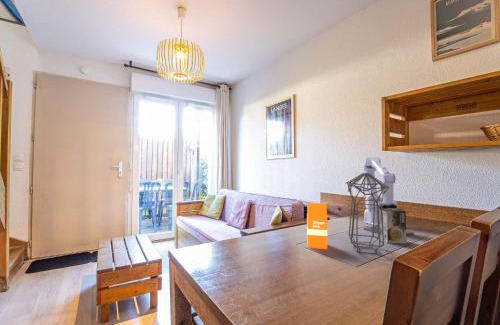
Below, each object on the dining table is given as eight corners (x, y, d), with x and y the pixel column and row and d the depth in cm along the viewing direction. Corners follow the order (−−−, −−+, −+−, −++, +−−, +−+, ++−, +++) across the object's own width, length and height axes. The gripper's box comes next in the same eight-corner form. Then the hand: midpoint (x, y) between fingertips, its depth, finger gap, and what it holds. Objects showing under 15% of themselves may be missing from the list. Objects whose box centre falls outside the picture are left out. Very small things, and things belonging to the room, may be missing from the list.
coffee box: (399, 239, 122) (399, 208, 122) (406, 244, 115) (406, 210, 115) (381, 239, 123) (380, 208, 123) (387, 243, 116) (386, 210, 116)
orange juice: (327, 249, 108) (327, 205, 108) (307, 247, 110) (307, 204, 110) (325, 243, 116) (325, 202, 116) (306, 242, 117) (306, 201, 118)
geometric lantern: (379, 246, 112) (380, 172, 112) (389, 259, 97) (391, 174, 96) (343, 242, 116) (345, 171, 116) (348, 255, 101) (349, 173, 101)
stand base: (363, 229, 141) (363, 221, 141) (383, 226, 149) (383, 218, 149) (393, 237, 125) (393, 228, 125) (413, 233, 133) (413, 225, 133)
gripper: (386, 195, 131) (386, 220, 131) (402, 194, 137) (402, 218, 137) (374, 194, 137) (374, 218, 137) (390, 193, 143) (390, 215, 143)
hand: (387, 217), depth 137 cm, fingers closed on column, 4 cm apart
